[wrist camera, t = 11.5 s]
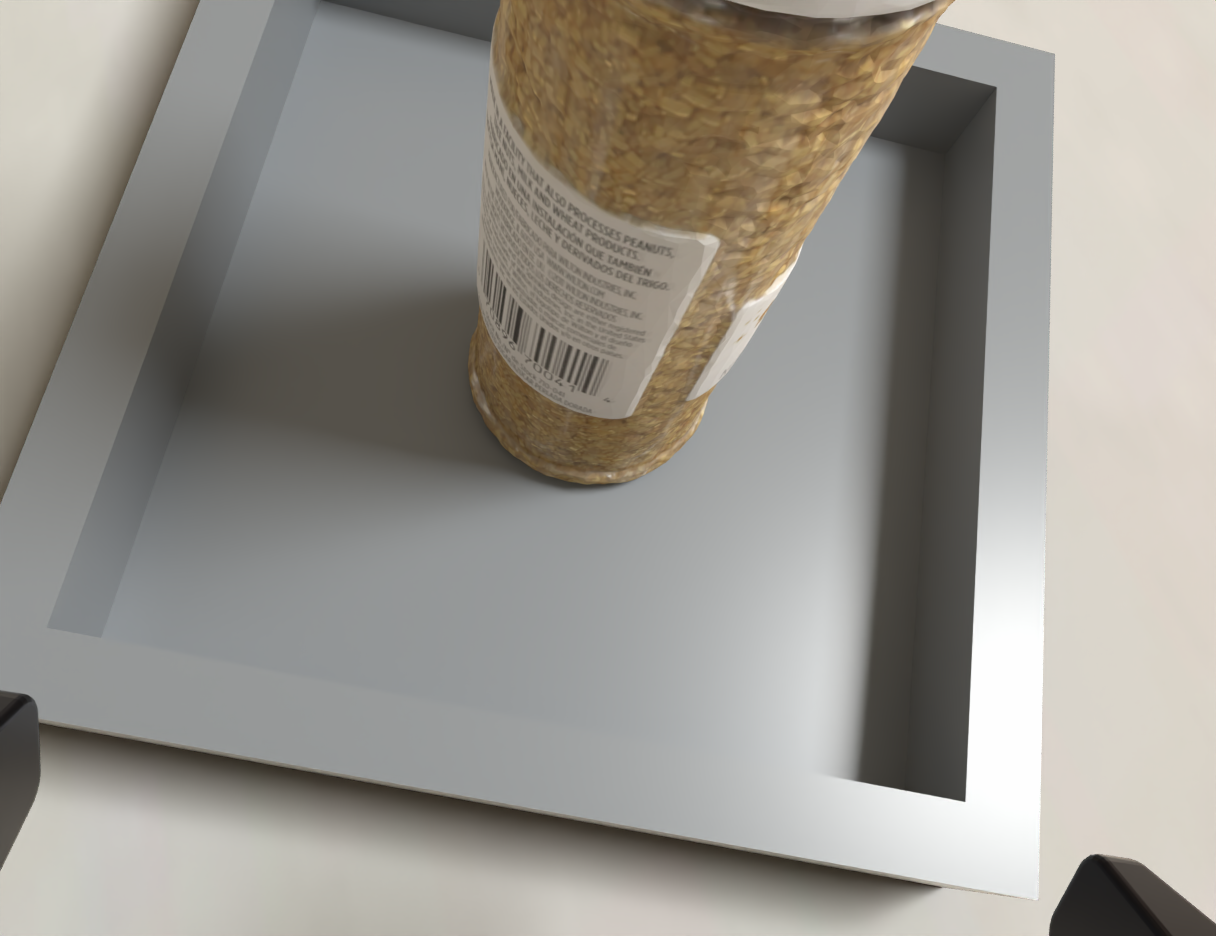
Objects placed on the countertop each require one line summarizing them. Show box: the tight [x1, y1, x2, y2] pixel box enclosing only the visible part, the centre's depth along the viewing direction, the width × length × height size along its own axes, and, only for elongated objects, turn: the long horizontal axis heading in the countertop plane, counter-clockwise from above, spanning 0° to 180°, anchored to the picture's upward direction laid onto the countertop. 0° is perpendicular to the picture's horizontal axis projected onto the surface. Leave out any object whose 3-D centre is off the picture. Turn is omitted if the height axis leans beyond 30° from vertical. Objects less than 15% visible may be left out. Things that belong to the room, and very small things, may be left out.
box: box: [0, 0, 1055, 900], centre depth 19 cm, size 16×16×3 cm
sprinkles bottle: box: [468, 0, 955, 485], centre depth 13 cm, size 5×5×13 cm
